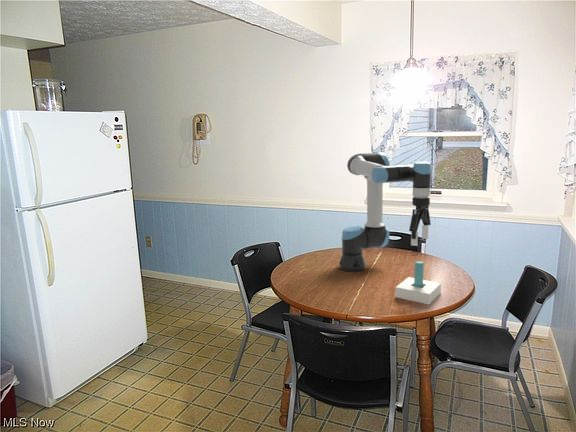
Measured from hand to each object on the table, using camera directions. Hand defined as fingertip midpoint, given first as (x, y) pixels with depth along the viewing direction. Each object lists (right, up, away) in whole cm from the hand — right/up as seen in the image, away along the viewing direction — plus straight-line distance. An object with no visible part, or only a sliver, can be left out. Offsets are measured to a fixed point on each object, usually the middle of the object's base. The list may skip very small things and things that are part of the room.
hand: (419, 242), depth 196 cm
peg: (+1, -25, +5) cm, 26 cm away
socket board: (+1, -25, +5) cm, 26 cm away
